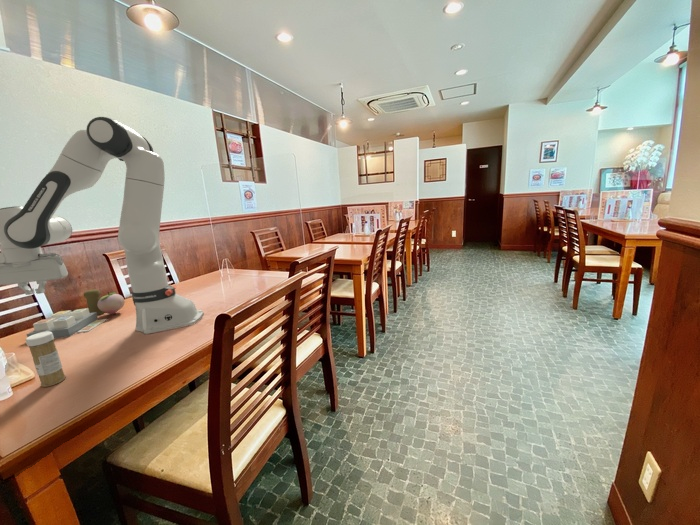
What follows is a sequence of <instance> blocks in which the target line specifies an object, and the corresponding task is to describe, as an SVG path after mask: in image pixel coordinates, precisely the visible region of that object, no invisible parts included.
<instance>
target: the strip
mask: <svg viewBox="0 0 700 525" xmlns="http://www.w3.org/2000/svg"><path fill="white" fill-rule="evenodd" d="M105 320H106V321H107V320H108V319H107V318H102V319H97V320H96V321H94V322H92V323H91V324H89V325H88V326H86V327H84V328H83V329H81V330H80V331H78V332H76V334H80V333H88V332H90V331H92V330H94V329H95V328H97V327H98V326H100V325H101V324H103V323H104V322H105Z"/></svg>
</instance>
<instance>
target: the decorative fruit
mask: <svg viewBox="0 0 700 525" xmlns="http://www.w3.org/2000/svg"><path fill="white" fill-rule="evenodd" d="M107 293H108V294H106V295H103V296H101V297H100V300H99V301H98V304H97V306H98V308H99V309H100V310H101V311H102V312H104V313H105V314H107V315H115V314H116V313H117V312H119V311H120V310H121V309H122V308H123V307H124V306H125V302H126V301H125V298H124V297H123V295H121V294H118V293H117V292H109V291H108V292H107Z"/></svg>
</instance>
